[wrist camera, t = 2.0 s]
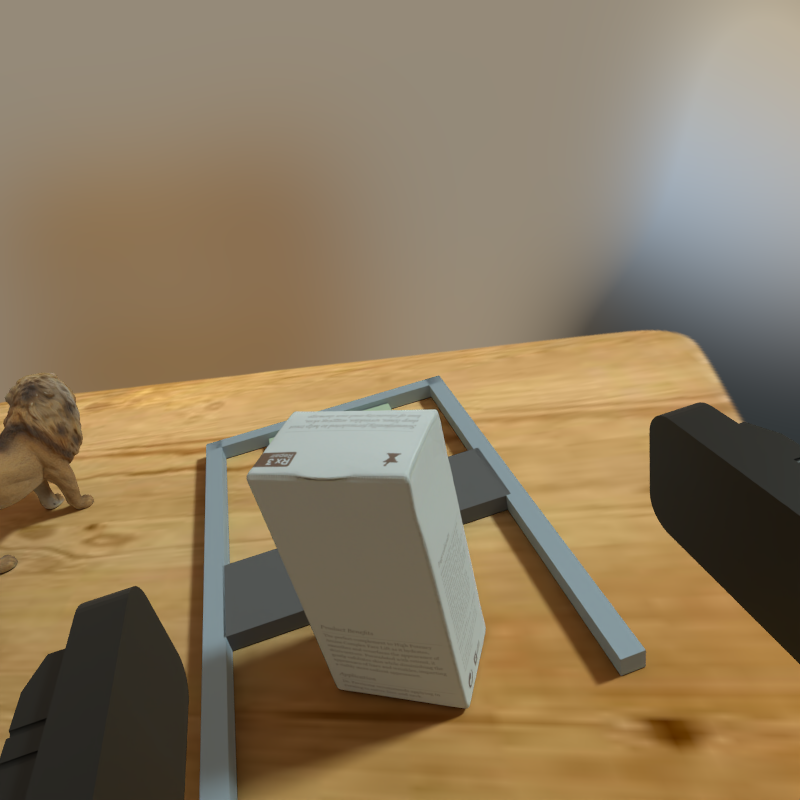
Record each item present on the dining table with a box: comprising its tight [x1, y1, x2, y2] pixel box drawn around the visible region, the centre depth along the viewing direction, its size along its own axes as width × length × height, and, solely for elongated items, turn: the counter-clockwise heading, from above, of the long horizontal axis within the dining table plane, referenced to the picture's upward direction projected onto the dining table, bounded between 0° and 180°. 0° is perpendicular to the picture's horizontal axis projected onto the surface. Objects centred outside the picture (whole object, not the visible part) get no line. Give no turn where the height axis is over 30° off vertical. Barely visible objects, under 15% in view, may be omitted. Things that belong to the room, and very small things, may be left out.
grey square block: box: [222, 549, 310, 651], centre depth 32 cm, size 5×5×1 cm
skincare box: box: [247, 409, 486, 709], centre depth 25 cm, size 6×4×12 cm
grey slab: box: [448, 448, 511, 524], centre depth 37 cm, size 5×5×1 cm
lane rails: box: [200, 376, 646, 800], centre depth 35 cm, size 27×18×1 cm
